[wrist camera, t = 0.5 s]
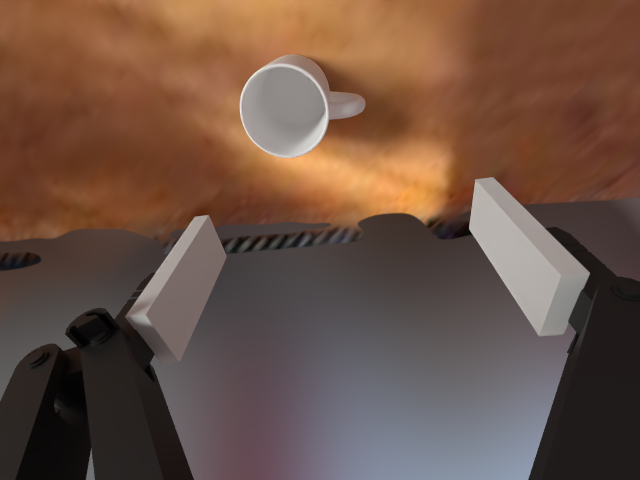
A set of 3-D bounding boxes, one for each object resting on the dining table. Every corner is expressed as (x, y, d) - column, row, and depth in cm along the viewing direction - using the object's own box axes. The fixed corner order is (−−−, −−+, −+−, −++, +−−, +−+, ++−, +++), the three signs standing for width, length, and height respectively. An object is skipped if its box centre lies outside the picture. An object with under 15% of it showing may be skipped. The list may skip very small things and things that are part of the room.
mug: (365, 55, 35) (375, 65, 26) (358, 131, 39) (365, 160, 31) (257, 52, 35) (233, 62, 26) (264, 128, 40) (245, 157, 31)
